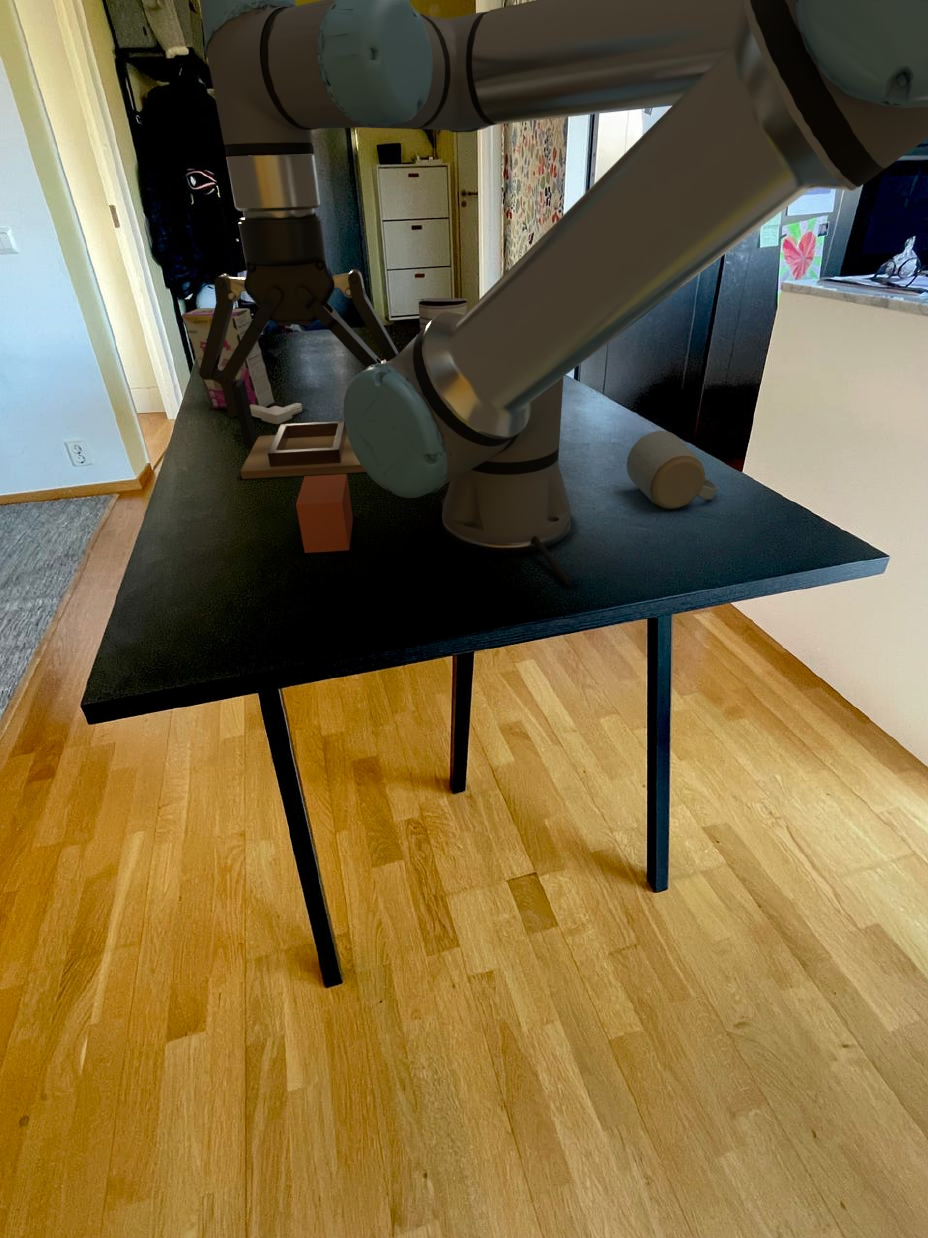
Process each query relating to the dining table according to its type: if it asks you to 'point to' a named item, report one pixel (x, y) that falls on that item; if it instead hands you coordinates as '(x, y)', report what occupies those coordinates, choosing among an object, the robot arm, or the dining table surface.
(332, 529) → the orange block
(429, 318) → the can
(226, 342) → the candy bar box
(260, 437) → the wooden board with frame
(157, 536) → the dining table surface
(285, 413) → the corner connector
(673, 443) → the ceramic mug
